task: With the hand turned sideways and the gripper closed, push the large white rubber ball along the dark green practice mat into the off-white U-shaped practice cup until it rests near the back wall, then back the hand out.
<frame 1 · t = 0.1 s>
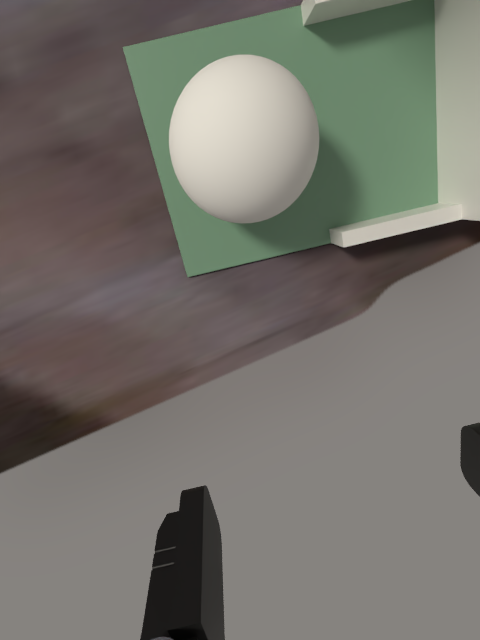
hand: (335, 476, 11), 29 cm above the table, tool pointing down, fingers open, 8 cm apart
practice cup: (355, 128, 34), on the table
ball: (243, 147, 28), point 6 cm above the table, touching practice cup
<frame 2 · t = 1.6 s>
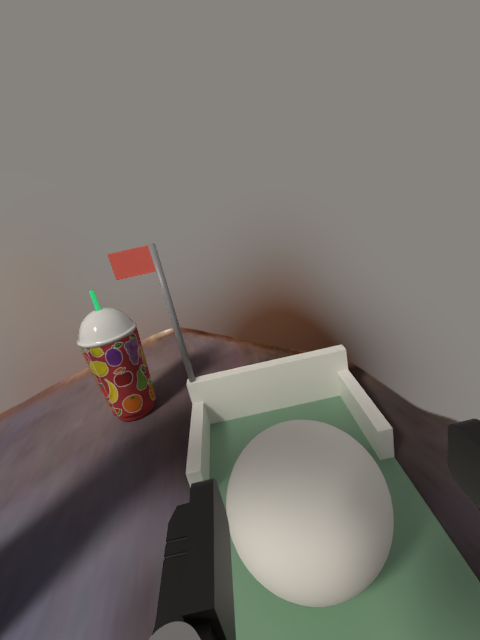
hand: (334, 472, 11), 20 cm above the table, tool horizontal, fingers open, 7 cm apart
smoothie: (137, 411, 54), on the table
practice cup: (287, 453, 39), on the table
ball: (306, 502, 26), point 6 cm above the table, touching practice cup
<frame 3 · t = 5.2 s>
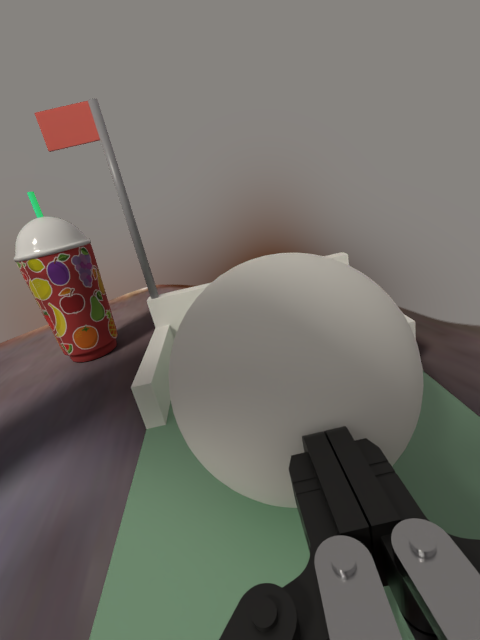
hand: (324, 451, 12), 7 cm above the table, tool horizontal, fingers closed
smoothie: (95, 353, 45), on the table
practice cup: (273, 375, 30), on the table
ball: (289, 373, 17), point 6 cm above the table, tilted 10°, touching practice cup
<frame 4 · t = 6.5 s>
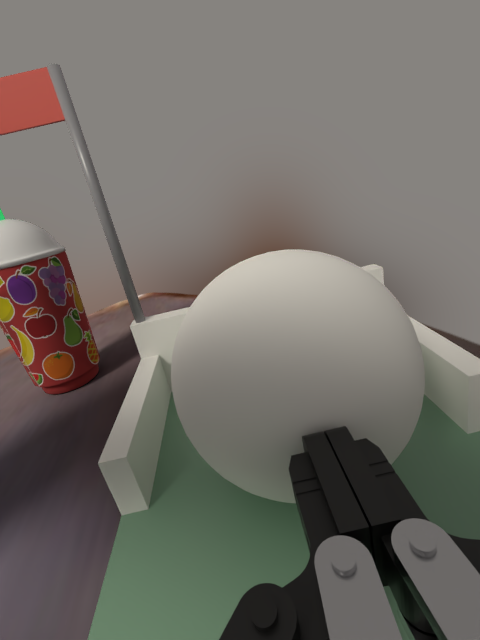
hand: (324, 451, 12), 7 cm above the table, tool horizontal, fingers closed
smoothie: (73, 381, 38), on the table
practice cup: (292, 429, 23), on the table
ball: (291, 369, 17), point 6 cm above the table, tilted 84°, touching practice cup
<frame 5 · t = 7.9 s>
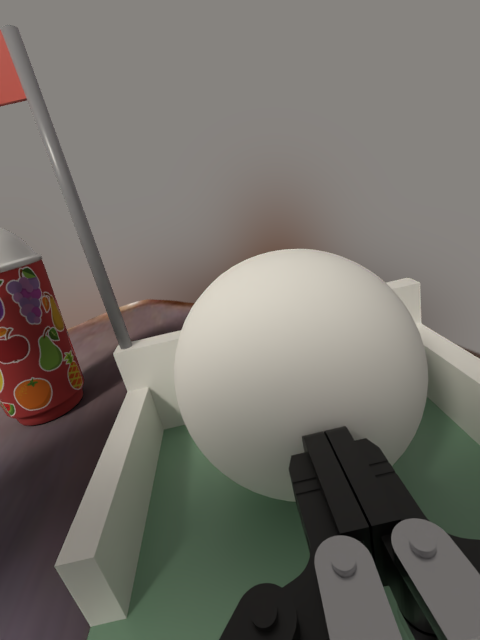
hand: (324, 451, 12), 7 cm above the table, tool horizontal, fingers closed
smoothie: (53, 408, 33), on the table
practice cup: (315, 493, 18), on the table
ball: (293, 368, 17), point 6 cm above the table, tilted 134°, touching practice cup
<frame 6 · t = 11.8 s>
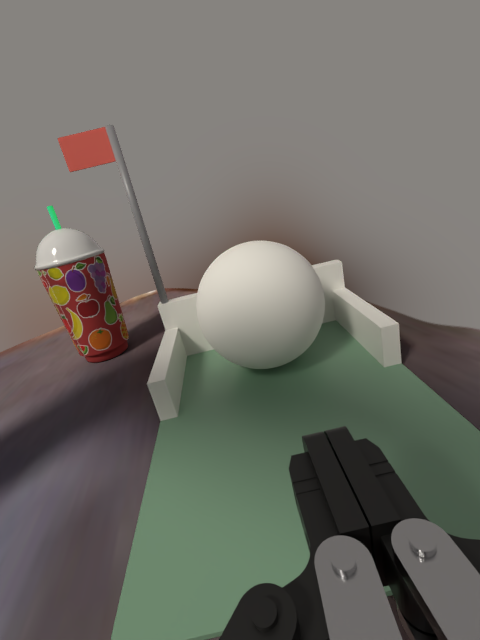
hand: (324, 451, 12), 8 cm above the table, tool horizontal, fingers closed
smoothie: (108, 354, 48), on the table
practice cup: (273, 372, 33), on the table
ball: (259, 305, 33), point 6 cm above the table, tilted 133°, touching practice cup
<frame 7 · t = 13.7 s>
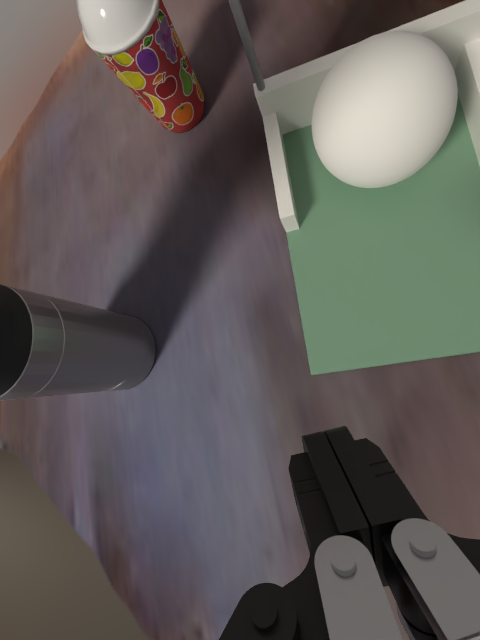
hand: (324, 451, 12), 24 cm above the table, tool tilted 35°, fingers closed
smoothie: (185, 114, 46), on the table
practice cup: (377, 173, 37), on the table
ball: (379, 117, 31), point 6 cm above the table, tilted 133°, touching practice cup
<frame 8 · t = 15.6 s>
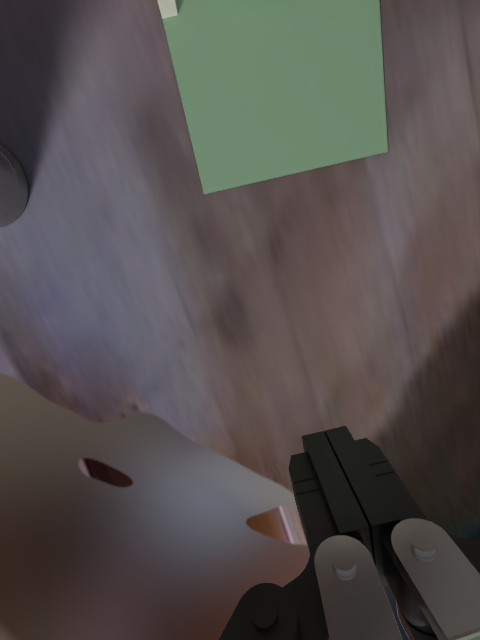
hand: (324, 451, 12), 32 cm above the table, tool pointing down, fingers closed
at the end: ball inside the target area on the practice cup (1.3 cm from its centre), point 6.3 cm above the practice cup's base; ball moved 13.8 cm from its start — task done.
